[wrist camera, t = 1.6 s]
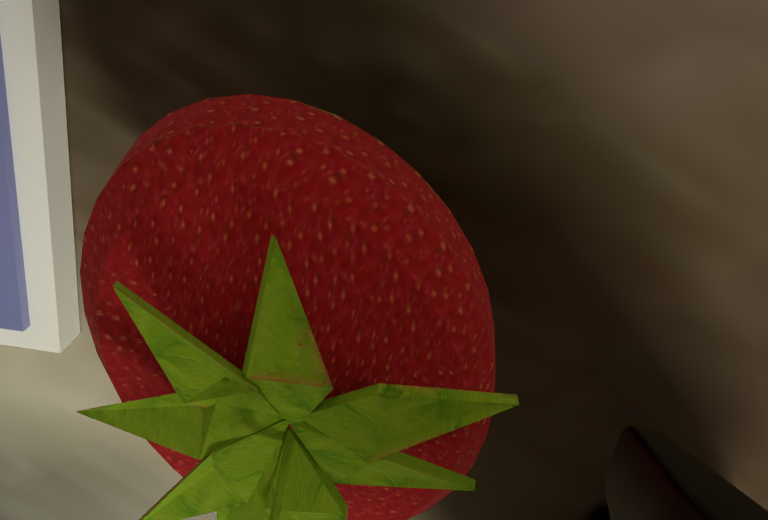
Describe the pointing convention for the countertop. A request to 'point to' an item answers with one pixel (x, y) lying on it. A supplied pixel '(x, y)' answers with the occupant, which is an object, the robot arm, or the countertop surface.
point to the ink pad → (35, 182)
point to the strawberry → (288, 317)
